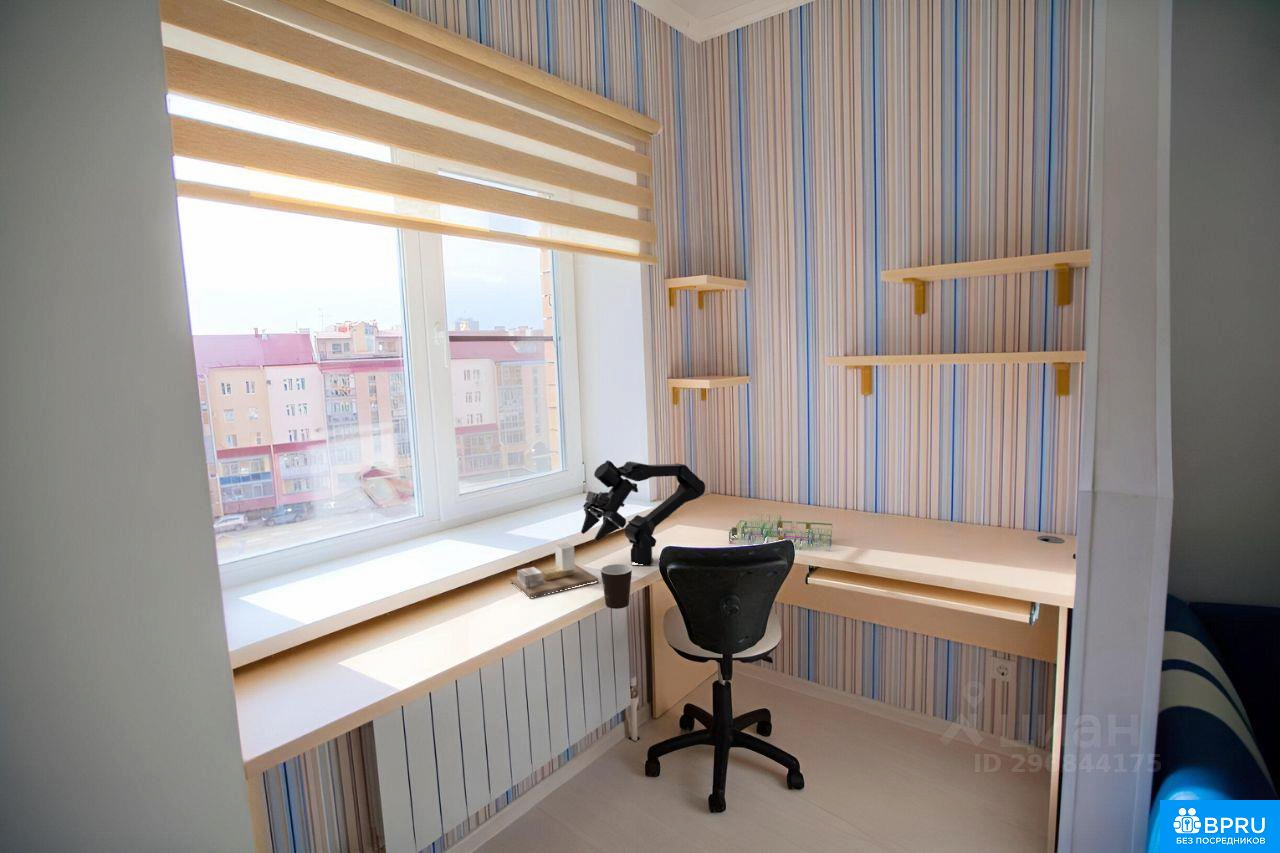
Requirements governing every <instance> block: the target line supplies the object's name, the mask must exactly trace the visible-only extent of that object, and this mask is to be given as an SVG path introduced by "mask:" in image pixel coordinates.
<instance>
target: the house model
mask: <svg viewBox="0 0 1280 853" xmlns="http://www.w3.org/2000/svg"><path fill="white" fill-rule="evenodd" d="M757 515H758V516H759V521H758V520H744V522H743V523H744V524H743V525H742V523H741V522H742V520H739V522H738V523H737V524H736V526H735V527H733V526H732V528H731V529H730V531H729V532H728V533H729V534H728V538H729V539H728V542H729V541H730V539H731V540H733V539H732V536H734V535H737V541H738V540H739V541H740V542H741V541H742V540H745V541H746V536H747V542H749V540H750V541H751V536H752V539H754V541H756V537H757V536H758V539H759V538H760V539H761V537H762V538H763V542H764V541H765V538H766V537H767V536H769V537H771V538H773V537H774V538H777V537H778V540H783V539H785V540H786V539H787V540H791V541H792V540H793V544H794V543H795V542H796V543H797V540H798V545H799V544H801V541H802V542H803V541H804V540H805V545H806V544H807V546H808V545H809V546H810V545H811V544H812V545H813V541H814V542H815V540H818V539H819V540H820V541H821V542H822V541H823V540H824V536H825V537H826V536H827V537H829V544H826V547H830V546H831V547H832V542H831V537H832V536H833V535H832V534H833V529H832V528H825V530H827V531H826V532H824V533H823V532H822V530H823V528H820V527H819V528H816V527H812V526H811V525H824V526H825V525H826V526H833V523H824V522H809V521H808V522H807V521H796V524H804V525H805V530H806V529H809V530H808V532H806V531H805V532H806V533H808V534H807V537H806V533H802V532H803V531H800V533H801V534H797V533H796V530H795V529H797V526H796V527H795V521H792V520H791V521H788V520H782V515H779V514H777V515H776V514H772V517H773V516H774V517H776V519H777V520H775V521H771V517H770V516H771V514H766V517H768V521H765V519H762V518H763V516H765V514H761V513H755V516H757ZM760 518H761V520H760ZM754 522H755V524H754V525H751V523H754ZM761 522H762V524H761ZM757 523H758V526H757ZM769 523H770V526H769V527H766V524H769ZM775 523H776V527H774V524H775ZM783 523H787V524H788V523H789V524H792V526H791V529H792V530H785V531H783V532H782V531H781V532H780V530H778V528H779V527H780V528H783V527H784V526H783ZM760 524H761V526H760ZM750 525H751V526H750ZM740 528H741V532H740ZM749 528H750V532H746V533H745V529H747V530H749ZM755 528H756V529H759V528H760V532H758V533H755V530H753V529H755ZM764 529H765V531H764V532H765V533H764V534H763V530H764ZM772 529H773V531H772ZM793 529H794V531H793ZM810 530H811V532H810ZM816 530H821V532H820V531H819V538H818V537H816V538H815V535H816V536H817V532H816ZM738 531H739V532H740V534H739V535H738ZM813 531H815V532H813ZM829 531H830V533H829ZM771 532H772V533H773V534H771ZM793 532H794V533H793ZM782 533H783V534H782ZM810 533H811V534H810ZM743 534H744V537H743ZM770 534H771V535H770ZM780 534H781V535H780ZM787 534H792V536H791V535H787ZM761 535H762V536H761ZM809 535H810V538H809ZM734 537H735V536H734ZM740 537H741V538H740ZM753 537H754V538H753ZM735 538H736V537H735ZM743 538H744V539H743ZM804 538H805V539H804ZM810 540H811V541H810ZM819 540H818V541H817V543H816V546H819V544H820V543H819ZM751 542H752V541H751ZM824 543H827V540H825V541H824ZM820 545H821V546H823V543H821V544H820Z"/></svg>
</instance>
